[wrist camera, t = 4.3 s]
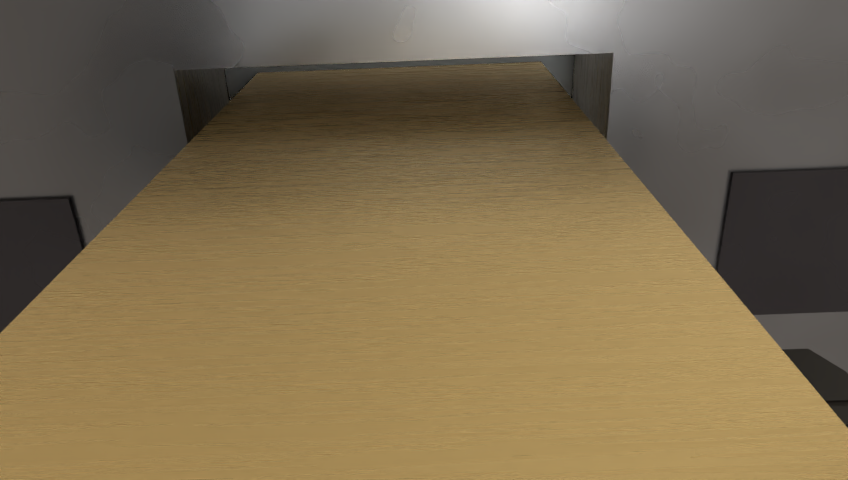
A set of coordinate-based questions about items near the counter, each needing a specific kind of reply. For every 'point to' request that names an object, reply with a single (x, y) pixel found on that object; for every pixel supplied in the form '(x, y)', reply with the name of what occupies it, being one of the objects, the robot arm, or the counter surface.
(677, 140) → the grey slotted block
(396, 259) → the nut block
